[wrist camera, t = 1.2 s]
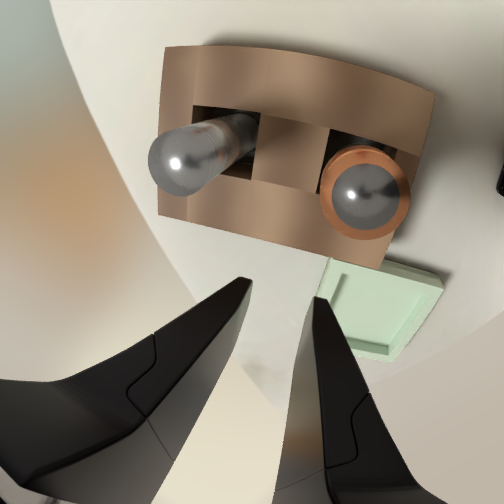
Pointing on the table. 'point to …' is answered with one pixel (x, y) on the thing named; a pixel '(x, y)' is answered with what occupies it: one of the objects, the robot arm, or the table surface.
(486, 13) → the table surface
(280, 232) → the socket block
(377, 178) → the plunger
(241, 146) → the grey metal peg
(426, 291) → the tray
